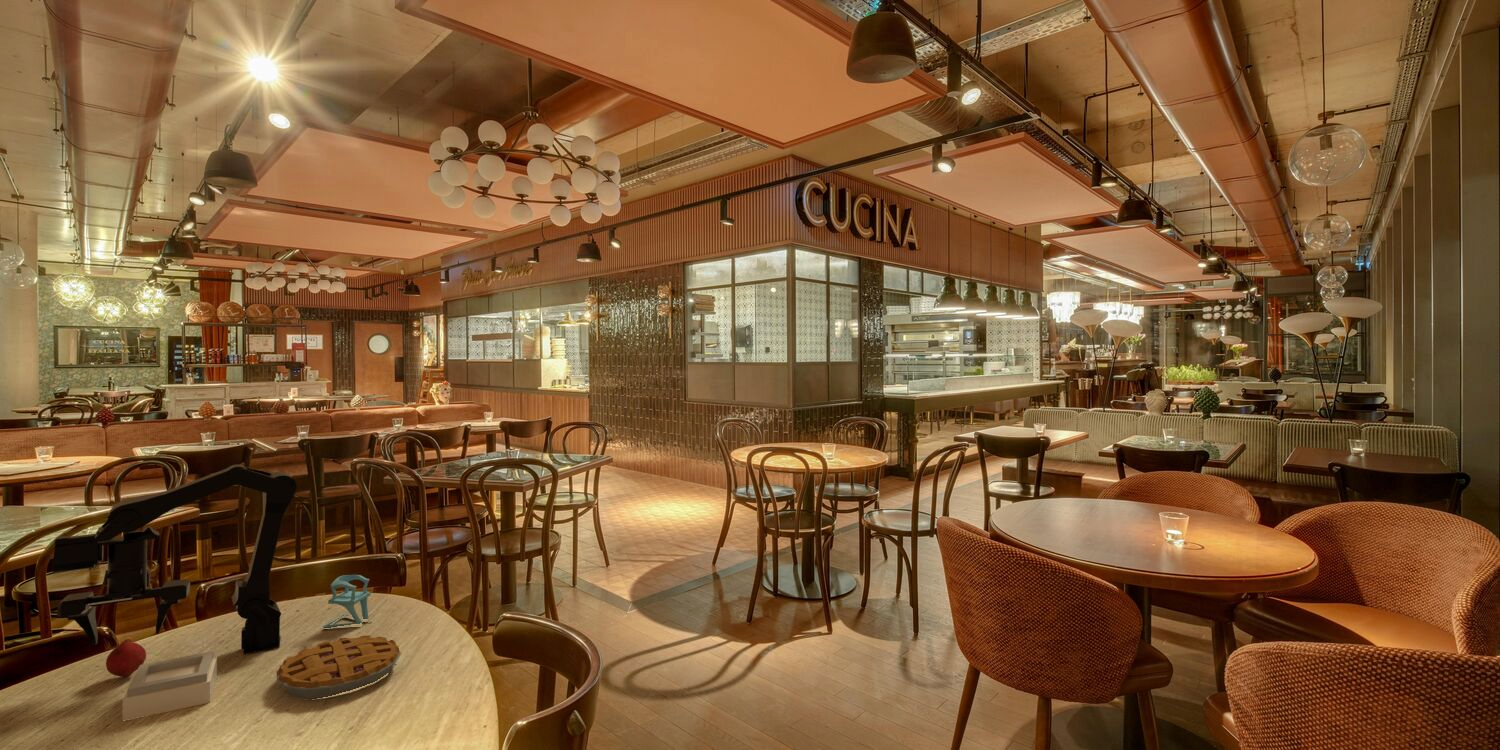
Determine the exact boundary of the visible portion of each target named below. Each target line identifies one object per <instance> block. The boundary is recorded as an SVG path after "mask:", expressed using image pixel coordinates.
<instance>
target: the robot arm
mask: <svg viewBox="0 0 1500 750" xmlns="http://www.w3.org/2000/svg"><path fill="white" fill-rule="evenodd" d="M237 485H238V486H242V487H245V488H248V489H250V490H251V489H252V490H255V491H258V492H259V493H262V515H261V520H260V524H259V527H258V532H257V535H256V539H255V543H254V548H253V552H252V555H251V556H252V557H251V560H250V565H249V568H248V572H247V574H246V575H245V577H244V579H243V580H240V579H239V580H238V579H237V580H235V590H234V593H233V594H232V596H231V600H232V603H233V604H232V605H233V606H234V607H235V608H236V612H237V614H238V616H239V617H240V618H242V619H244V620H245V623H244V626H243V627H242V628H241V631H240V632H241V635H240V636H241V637H240V639H241V642H240V643H241V645H240V647H241V650H243V652H242V653H243V655H247V654H252V653H257V652H258V653H259V652H262V651H268V650H273V649H278V648H280V646H281V637H282V635H281V634H280V633H281V631H280V630H281V615H282V612H281V610H280V607H279V606H278V603H277V601H275V600H273V599H271V595H270V594H271V585H270V584H271V583H270V582H271V581H270V574H271V569H272V565H273V561H274V557H275V553H276V549H277V545H278V541H279V537H280V534H281V533H280V531H281V528H282V524H283V521H284V517H285V516H284V515H285V514H286V512H287V510H288V509H289V507H290V505H291V503H292V501H293V500H294V498H295V495H296V494H297V493H296V492H297V490H298V482H297V481H296V480H295V478H293V477H292V475H290V474H289V473H287V472H284V471H275V472H273V473H272V472H268V471H264V470H261V469H256V468H251V467H247V466H244V465H242V464H233V465H230V466H228V467H226V468H225V469H222V470H220V471H217V472H214V473H211V474H209V475H206V476H203V477H201V478H197V479H195V480H192V481H189V482H187V483H184V484H181V485H179V486H176V487H174V488H171V489H170V488H169V490H165V491H161V492H156V493H152V494H146V495H140V496H136V497H131V498H126V499H124V500H123V499H122V500H121V501H119V502H116V503H115V504H113V505H112V506H111V508H110V510H109V512H108V515H107V519H106V521H104V523H103V524H102V525H101V526H100V527H98V528H97V530H96V531H95V533H91V534H90V533H88V534H81V535H73V536H71V535H64V536H57V537H56V538H55V540H54V548H53V549H54V550H53V556H52V558H51V568H52V573H53V574H60V573H65V572H66V573H67V572H73V571H82V570H86V569H95V567H96V565H98V564H99V563H100V562H103V561H104V546H107V570H105V572H104V577H103V585H104V586H105V587H107V594H102V595H95V594H94V592H93V591H87V592H85V591H84V592H77V593H71V594H68V595H67V596H65V597H64V598H63V599H62V600H61V601H60V602H59V603H58V604H57V607H56V608H57V610H56V615H57V616H56V617H57V618H64V617H67V621H75V622H76V624H78V625H79V627H80V628H81V629H82V630H83V632H84V633H85V635H86V636H87V637H88V639H89V641H90V642H91V644H92V645H97V644H98V642H99V641H98V640H99V639H98V638H99V636H98V634H99V632H98V627H97V626H98V625H97V619H96V610H97V609H96V607H97V606H102V605H112V604H117V603H118V604H119V603H125V602H133V601H139V600H145V599H146V600H147V599H153V598H159V597H160V599H161V600H160V602H159V604H158V609H157V616H156V624H155V635H158V634H160V632H161V630H162V626H164V625H163V624H164V621H165V620H166V616H167V614H168V612H169V610H170V609H171V607H172V606H174V605H177V604H179V602H180V600H184V599H187V597H188V595H189V593H190V592H191V582H190V580H188V579H187V578H183V579H175V580H169V581H165V582H164V583H163V585H162V586H160V587H153V588H149V587H150V586H151V573H152V570H151V569H149V568H148V540H156V539H159V537H160V532H159V531H157V530H155V529H153V527H152V526H150V525H148V524H150V523H152V522H153V521H155V520H158V519H159V518H160V517H162V516H163V515H164V514H166V513H168V512H170V511H172V510H174V509H177V508H179V507H182V506H185V505H187V504H189V503H193V502H195V501H198V500H200V499H203V498H205V497H208V496H211V495H214V494H216V493H219V492H221V491H224V490H226V489H230V488H231V487H234V486H237ZM146 525H147V526H146ZM144 526H146V527H145V528H144V529H142V530H139V529H141V528H143V527H144ZM121 534H123V536H119V535H121ZM117 536H118V537H117Z"/></svg>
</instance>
